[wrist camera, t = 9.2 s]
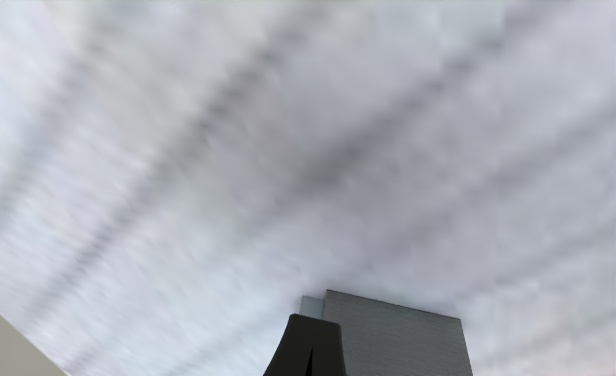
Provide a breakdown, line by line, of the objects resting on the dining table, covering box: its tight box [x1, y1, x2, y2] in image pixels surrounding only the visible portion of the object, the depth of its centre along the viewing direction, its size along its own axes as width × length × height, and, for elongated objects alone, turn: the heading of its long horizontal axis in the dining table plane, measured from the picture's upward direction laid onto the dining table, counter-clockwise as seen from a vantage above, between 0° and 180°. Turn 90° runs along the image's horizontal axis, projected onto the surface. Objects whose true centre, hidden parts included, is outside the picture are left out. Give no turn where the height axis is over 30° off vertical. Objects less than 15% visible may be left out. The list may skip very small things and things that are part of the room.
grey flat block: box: [321, 290, 473, 376], centre depth 20 cm, size 8×1×7 cm, turn 81°
